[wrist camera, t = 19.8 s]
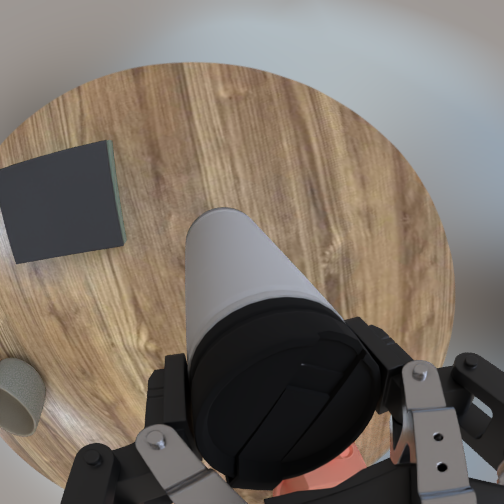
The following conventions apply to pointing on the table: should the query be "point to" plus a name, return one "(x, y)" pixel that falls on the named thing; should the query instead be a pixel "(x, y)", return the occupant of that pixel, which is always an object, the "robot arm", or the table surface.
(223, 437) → the travel mug
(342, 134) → the table surface
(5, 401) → the planter
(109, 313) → the table surface
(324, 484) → the teapot
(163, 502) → the computer mouse
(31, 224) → the tablet screen
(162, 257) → the table surface
